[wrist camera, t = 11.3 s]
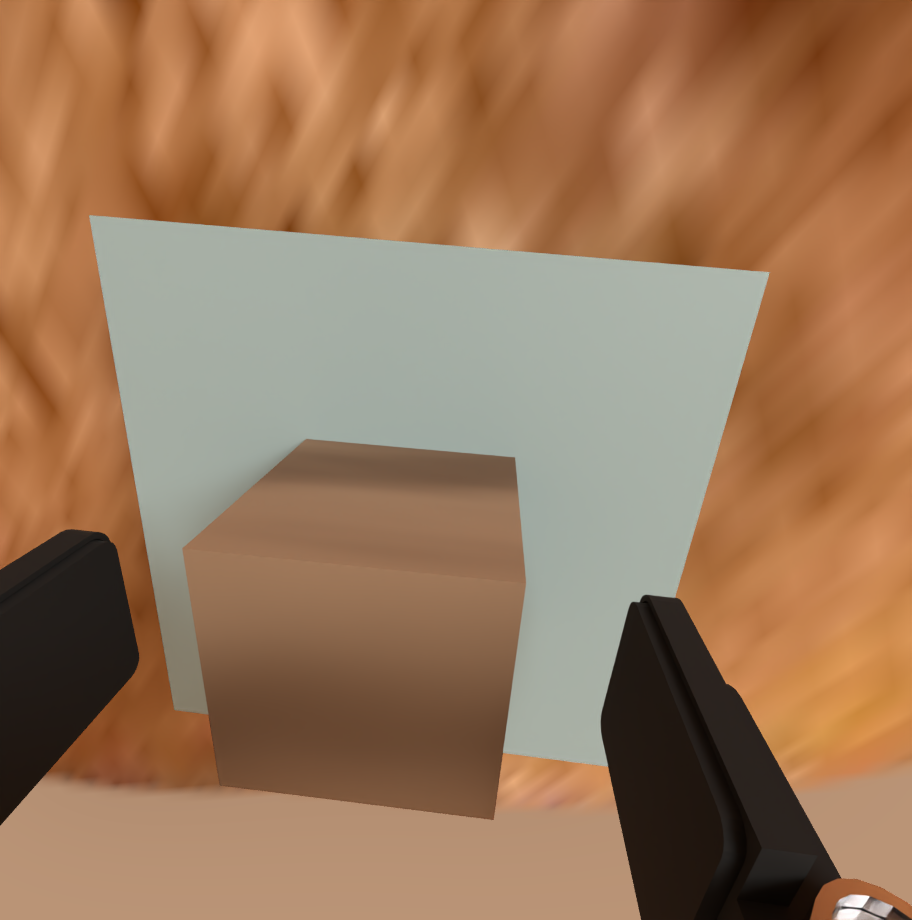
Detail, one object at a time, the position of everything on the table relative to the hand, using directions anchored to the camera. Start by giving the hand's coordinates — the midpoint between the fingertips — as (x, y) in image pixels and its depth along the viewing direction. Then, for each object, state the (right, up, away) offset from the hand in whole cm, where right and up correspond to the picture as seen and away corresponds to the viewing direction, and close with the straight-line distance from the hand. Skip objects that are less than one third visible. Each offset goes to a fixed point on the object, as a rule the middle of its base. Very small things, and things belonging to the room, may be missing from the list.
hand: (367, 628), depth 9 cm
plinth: (+1, +2, +6) cm, 7 cm away
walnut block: (0, +1, +4) cm, 4 cm away
